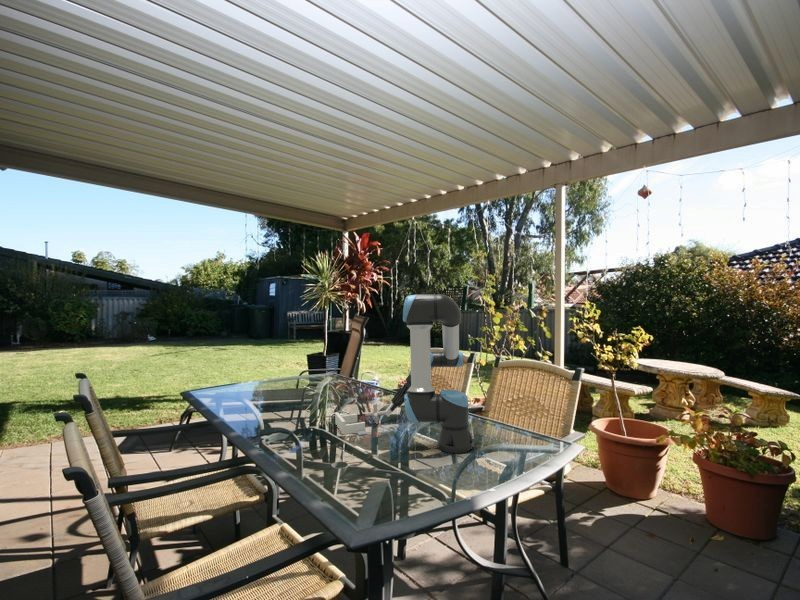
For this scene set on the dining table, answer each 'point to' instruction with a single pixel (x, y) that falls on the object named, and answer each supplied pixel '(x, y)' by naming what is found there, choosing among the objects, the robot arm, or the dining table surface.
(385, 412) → the pipe connector
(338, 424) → the dock
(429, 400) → the robot arm
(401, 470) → the dining table surface
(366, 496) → the dining table surface
